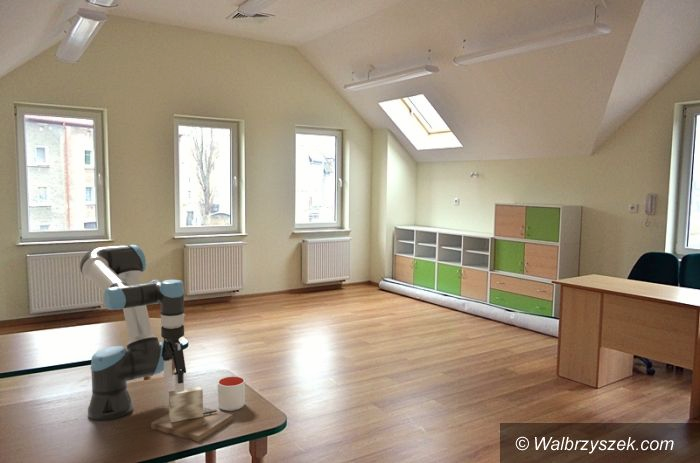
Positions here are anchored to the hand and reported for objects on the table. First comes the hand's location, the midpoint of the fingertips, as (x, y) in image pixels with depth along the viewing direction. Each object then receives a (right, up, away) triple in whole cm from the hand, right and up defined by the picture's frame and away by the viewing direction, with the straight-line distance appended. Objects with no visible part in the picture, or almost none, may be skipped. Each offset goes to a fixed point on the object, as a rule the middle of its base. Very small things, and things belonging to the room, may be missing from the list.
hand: (173, 384), depth 187 cm
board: (+6, -15, +4) cm, 16 cm away
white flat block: (+6, -13, +4) cm, 14 cm away
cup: (+16, -14, +19) cm, 28 cm away
